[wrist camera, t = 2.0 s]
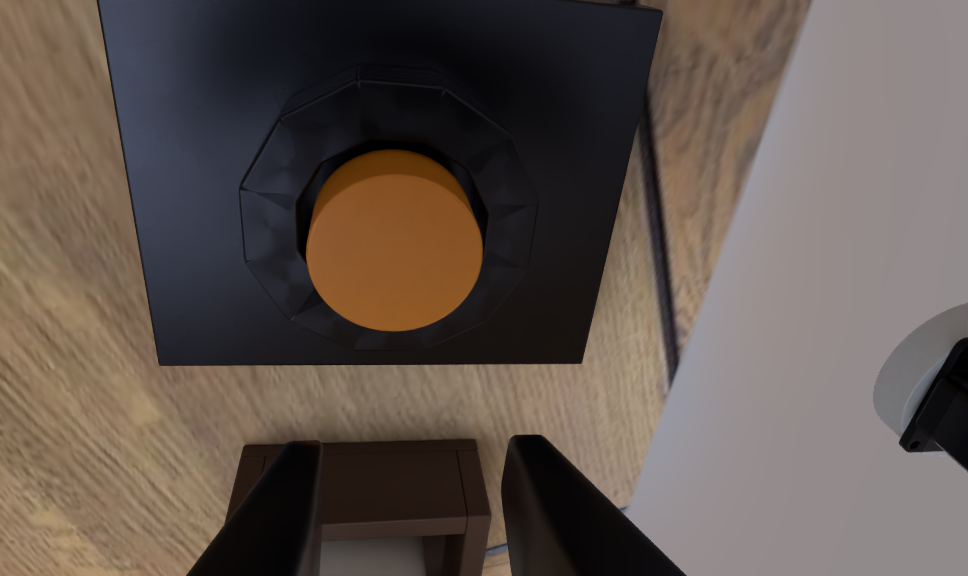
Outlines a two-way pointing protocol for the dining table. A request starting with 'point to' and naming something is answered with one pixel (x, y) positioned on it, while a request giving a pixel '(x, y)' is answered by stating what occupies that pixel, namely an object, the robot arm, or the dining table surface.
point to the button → (393, 241)
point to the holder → (397, 497)
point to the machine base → (364, 128)
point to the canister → (374, 557)
